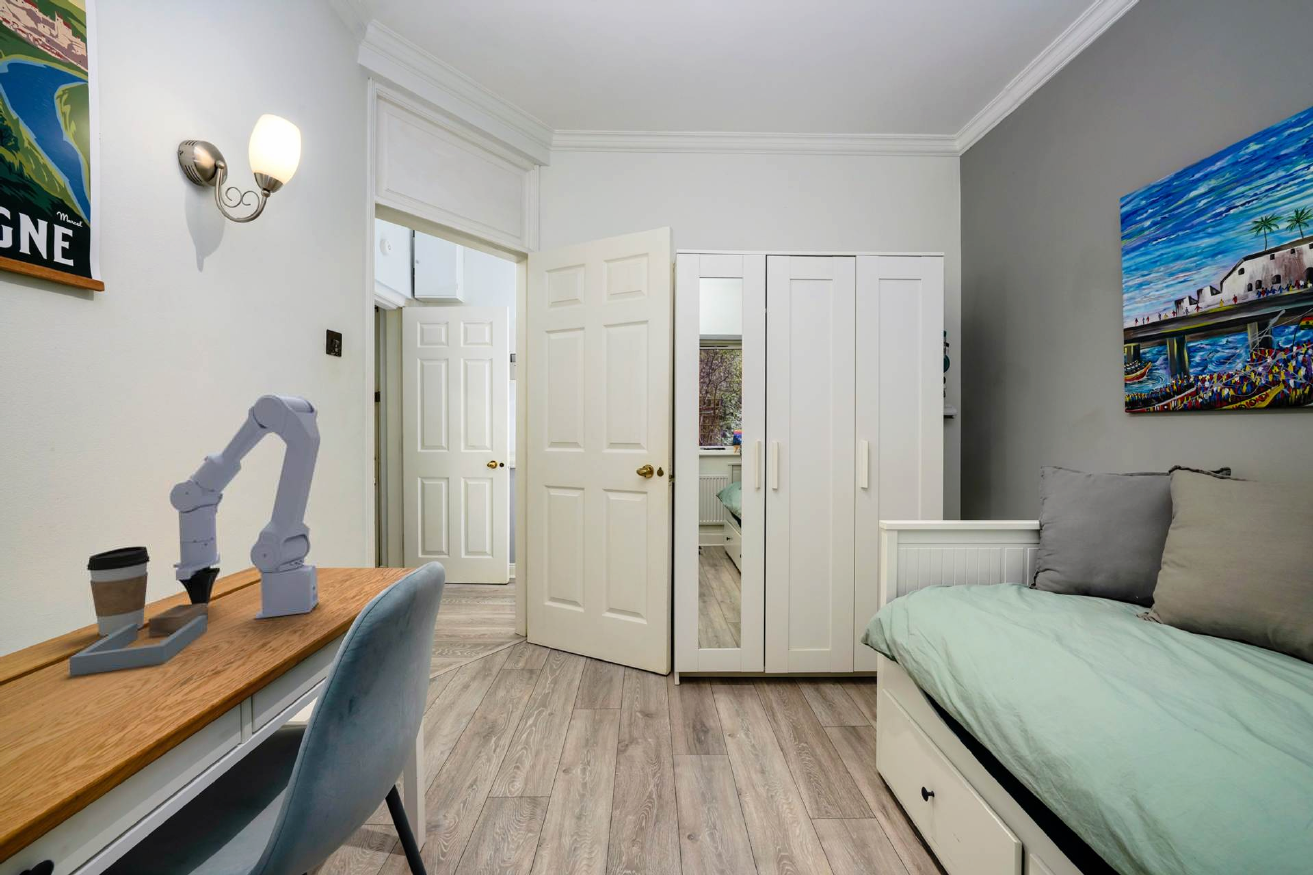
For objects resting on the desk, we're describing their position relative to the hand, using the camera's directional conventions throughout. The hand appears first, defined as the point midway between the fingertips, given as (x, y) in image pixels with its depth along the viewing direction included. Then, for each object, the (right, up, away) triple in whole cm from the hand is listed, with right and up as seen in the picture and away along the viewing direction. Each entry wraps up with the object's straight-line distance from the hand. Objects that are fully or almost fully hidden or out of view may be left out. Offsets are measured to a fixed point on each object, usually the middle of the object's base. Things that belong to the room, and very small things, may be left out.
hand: (200, 606), depth 111 cm
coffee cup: (-7, -2, -9) cm, 12 cm away
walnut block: (+3, -2, -8) cm, 9 cm away
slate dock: (+7, -2, -19) cm, 20 cm away
